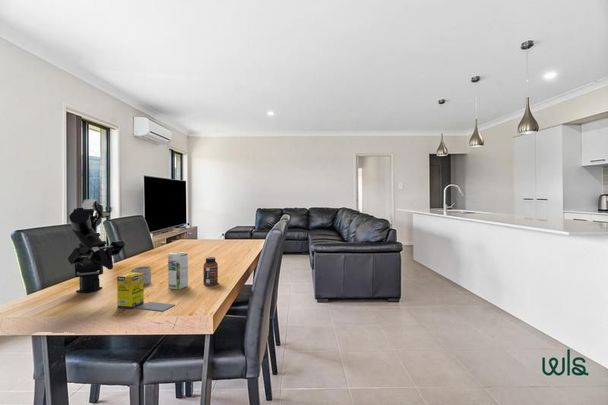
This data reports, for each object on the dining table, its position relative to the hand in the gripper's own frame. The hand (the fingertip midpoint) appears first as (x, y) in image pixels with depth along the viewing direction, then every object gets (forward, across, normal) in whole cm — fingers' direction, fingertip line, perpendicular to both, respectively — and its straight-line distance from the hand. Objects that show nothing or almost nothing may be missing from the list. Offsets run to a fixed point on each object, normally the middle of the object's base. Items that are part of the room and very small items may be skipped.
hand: (111, 268), depth 112 cm
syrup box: (+15, -23, -2) cm, 28 cm away
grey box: (0, -24, -17) cm, 30 cm away
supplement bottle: (+23, -31, +5) cm, 39 cm away
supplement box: (+15, 0, -3) cm, 15 cm away
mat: (+21, -2, +4) cm, 22 cm away
